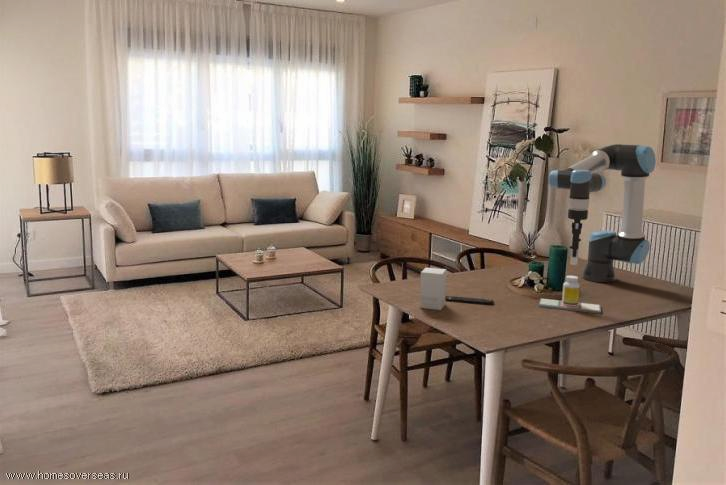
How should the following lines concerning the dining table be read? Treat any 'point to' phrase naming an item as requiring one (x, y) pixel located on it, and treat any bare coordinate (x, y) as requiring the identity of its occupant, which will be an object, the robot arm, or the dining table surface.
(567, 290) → the pill bottle
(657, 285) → the dining table surface
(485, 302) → the remote control
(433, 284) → the supplement box
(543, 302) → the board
